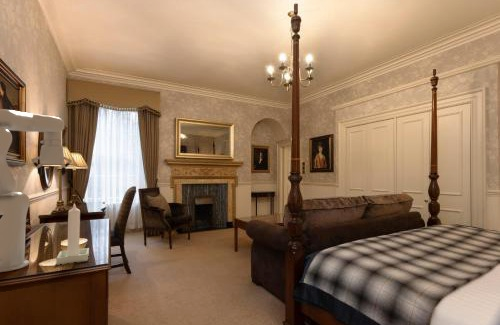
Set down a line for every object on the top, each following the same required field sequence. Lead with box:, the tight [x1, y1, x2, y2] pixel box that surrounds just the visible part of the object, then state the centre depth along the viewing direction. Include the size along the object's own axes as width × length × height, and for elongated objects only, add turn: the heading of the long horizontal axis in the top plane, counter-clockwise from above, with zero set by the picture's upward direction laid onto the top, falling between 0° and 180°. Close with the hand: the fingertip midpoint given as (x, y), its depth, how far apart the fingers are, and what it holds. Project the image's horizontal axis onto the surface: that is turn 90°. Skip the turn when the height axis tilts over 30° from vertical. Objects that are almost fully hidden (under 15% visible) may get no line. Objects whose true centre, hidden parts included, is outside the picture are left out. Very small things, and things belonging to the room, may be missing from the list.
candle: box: [65, 203, 81, 257], centre depth 123 cm, size 7×7×25 cm
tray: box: [55, 247, 90, 266], centre depth 123 cm, size 12×12×3 cm
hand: (51, 175), depth 142 cm, fingers open, 9 cm apart
